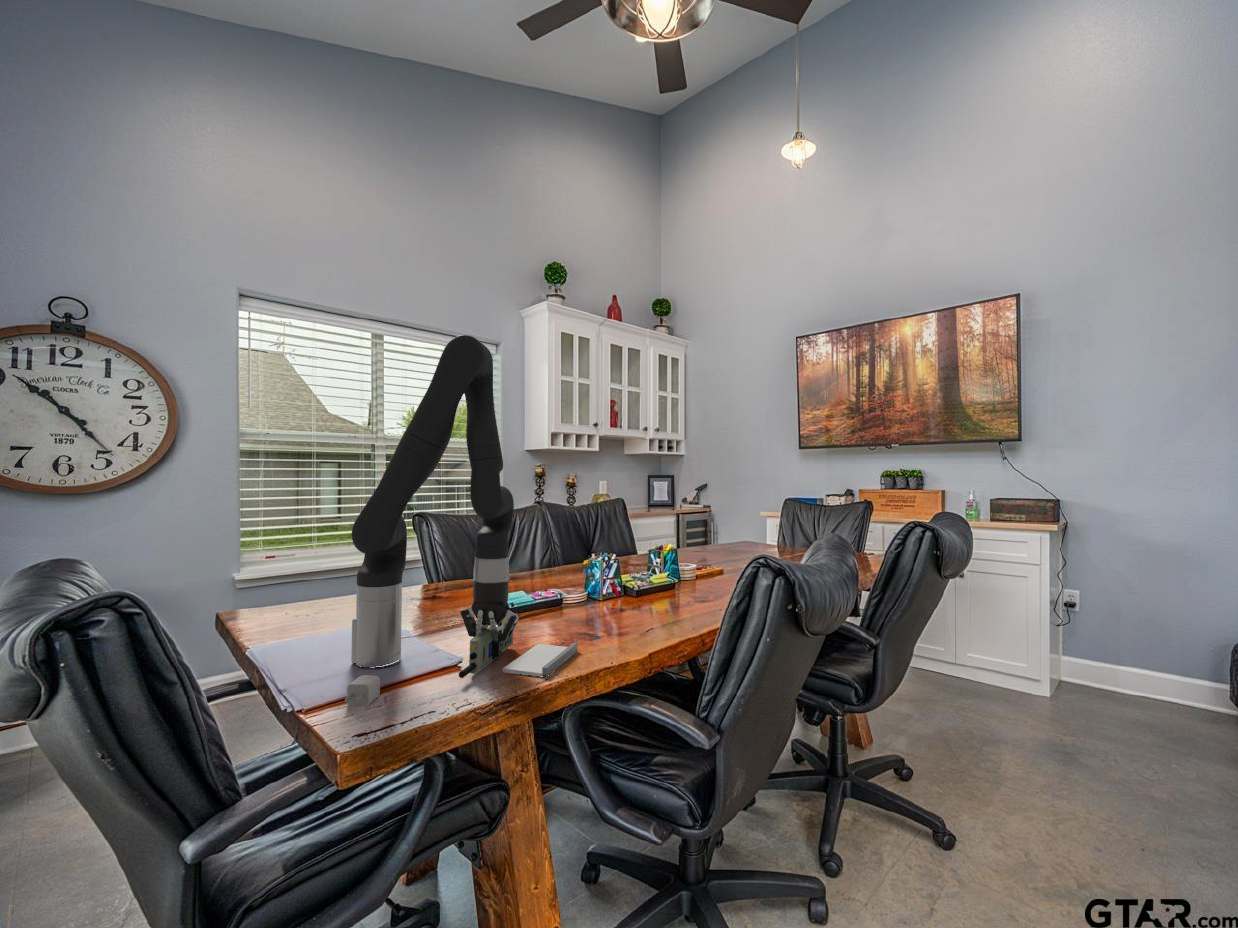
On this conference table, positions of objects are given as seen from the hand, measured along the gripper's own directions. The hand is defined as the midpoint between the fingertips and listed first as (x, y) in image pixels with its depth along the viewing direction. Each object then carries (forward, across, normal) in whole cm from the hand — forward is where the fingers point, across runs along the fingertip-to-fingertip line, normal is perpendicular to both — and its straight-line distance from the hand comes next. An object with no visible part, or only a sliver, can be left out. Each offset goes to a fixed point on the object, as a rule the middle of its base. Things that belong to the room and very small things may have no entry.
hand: (489, 657), depth 127 cm
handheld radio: (+1, 0, 0) cm, 1 cm away
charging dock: (+2, +10, +6) cm, 12 cm away
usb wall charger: (+2, -12, -26) cm, 28 cm away
